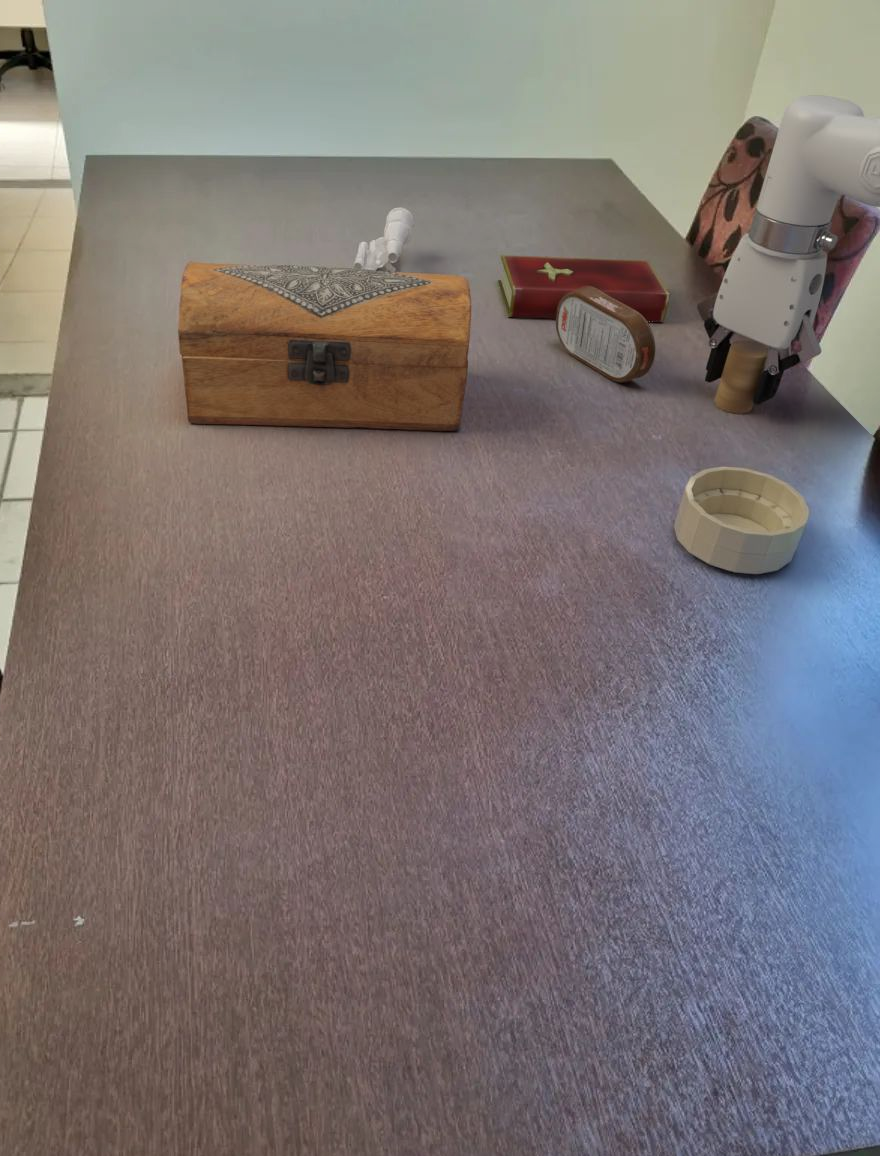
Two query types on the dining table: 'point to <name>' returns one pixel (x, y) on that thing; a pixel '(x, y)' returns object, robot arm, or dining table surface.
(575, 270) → the hardcover book
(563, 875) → the dining table surface
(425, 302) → the wooden box
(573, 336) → the tin
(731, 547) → the bowl
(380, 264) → the toy cannon
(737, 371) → the wooden cylinder
